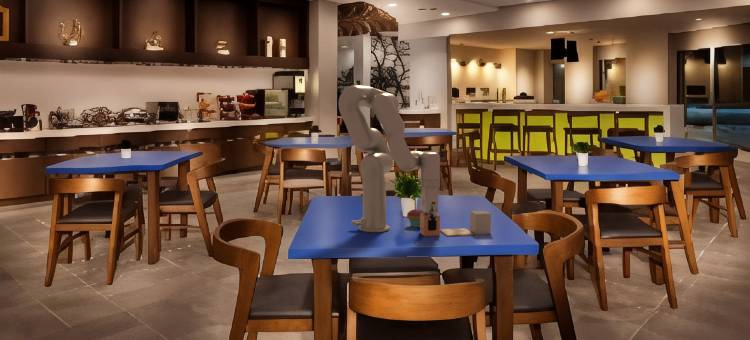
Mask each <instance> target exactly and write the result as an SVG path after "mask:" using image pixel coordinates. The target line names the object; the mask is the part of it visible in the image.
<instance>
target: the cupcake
mask: <svg viewBox="0 0 750 340" xmlns="http://www.w3.org/2000/svg"><path fill="white" fill-rule="evenodd" d="M420 213H424V212H423V211H422V210H421V209H417V199H416V198H414V209H412V210H409V211H408V212H407V214H406V218H407V219H408V221H409V223H410V227H413V228H420Z"/></svg>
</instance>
